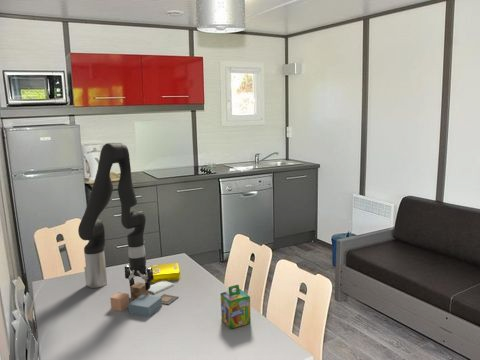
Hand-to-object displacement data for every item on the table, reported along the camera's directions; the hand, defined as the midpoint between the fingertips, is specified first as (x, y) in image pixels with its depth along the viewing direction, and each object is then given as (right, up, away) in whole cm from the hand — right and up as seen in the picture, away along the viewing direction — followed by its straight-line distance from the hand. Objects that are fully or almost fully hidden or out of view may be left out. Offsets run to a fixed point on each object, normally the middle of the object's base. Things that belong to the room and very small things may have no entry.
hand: (140, 288), depth 192 cm
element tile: (+7, 0, +24) cm, 25 cm away
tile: (+13, -4, -4) cm, 14 cm away
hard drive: (+7, -3, +9) cm, 12 cm away
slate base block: (+5, -6, -13) cm, 15 cm away
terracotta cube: (-6, -6, -10) cm, 13 cm away
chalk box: (+44, -7, -26) cm, 52 cm away
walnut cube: (0, -4, +1) cm, 4 cm away
